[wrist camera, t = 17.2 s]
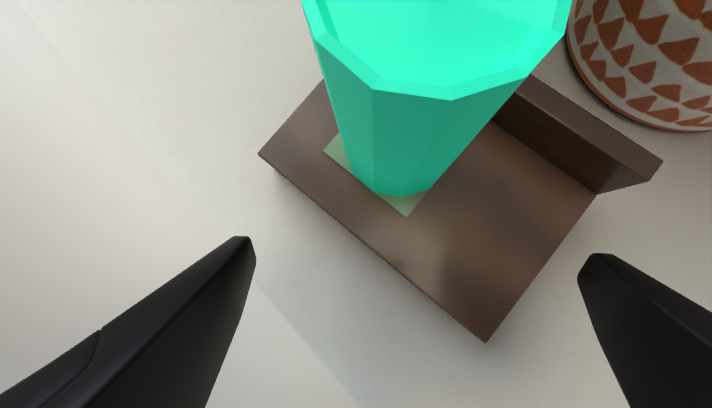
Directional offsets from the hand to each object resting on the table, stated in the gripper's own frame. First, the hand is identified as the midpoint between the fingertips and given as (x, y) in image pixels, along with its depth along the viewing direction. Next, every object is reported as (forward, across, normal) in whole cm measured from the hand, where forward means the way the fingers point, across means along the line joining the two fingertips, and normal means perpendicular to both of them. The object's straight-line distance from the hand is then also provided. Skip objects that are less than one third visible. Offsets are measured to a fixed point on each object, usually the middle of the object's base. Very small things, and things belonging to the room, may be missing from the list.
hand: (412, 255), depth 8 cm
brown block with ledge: (+11, -2, +4) cm, 12 cm away
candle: (+10, 0, +1) cm, 10 cm away
